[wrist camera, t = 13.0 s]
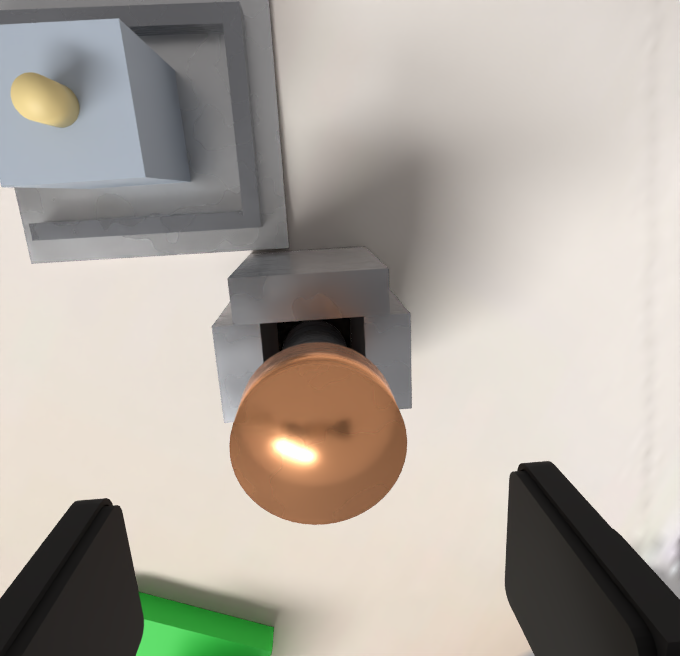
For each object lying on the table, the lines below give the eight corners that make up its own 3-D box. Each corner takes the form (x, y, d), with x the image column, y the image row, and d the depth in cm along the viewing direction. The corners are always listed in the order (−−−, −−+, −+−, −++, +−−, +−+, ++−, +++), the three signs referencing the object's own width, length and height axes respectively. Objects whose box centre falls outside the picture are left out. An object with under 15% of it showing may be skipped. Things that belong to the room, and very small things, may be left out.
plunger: (265, 405, 22) (239, 531, 14) (254, 301, 21) (219, 371, 12) (370, 397, 22) (408, 516, 14) (367, 293, 21) (405, 358, 13)
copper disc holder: (250, 389, 27) (229, 462, 20) (235, 254, 25) (205, 279, 18) (383, 379, 28) (412, 447, 20) (379, 245, 26) (409, 266, 18)
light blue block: (87, 188, 24) (-27, 186, 16) (65, 76, 22) (-74, 10, 14) (190, 181, 24) (130, 176, 16) (174, 70, 23) (99, 0, 14)
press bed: (34, 262, 25) (16, 267, 23) (-26, -6, 22) (-52, -22, 20) (288, 247, 25) (287, 250, 24) (267, -17, 22) (264, -32, 21)
